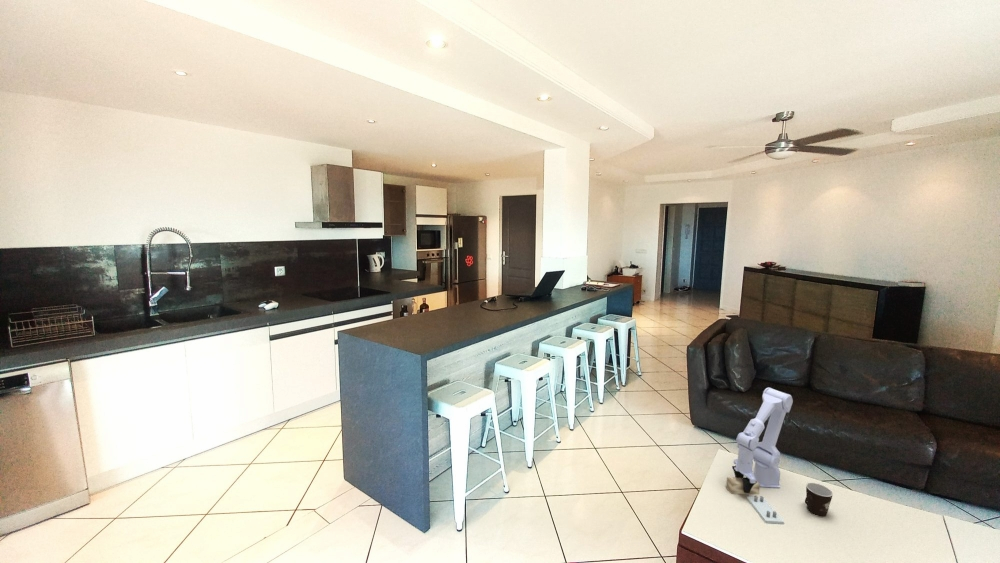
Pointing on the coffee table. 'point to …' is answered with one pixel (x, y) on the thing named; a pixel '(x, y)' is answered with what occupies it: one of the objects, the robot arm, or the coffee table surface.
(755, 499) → the peg plate
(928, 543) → the coffee table surface
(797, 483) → the coffee table surface
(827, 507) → the coffee mug
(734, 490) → the wooden block
